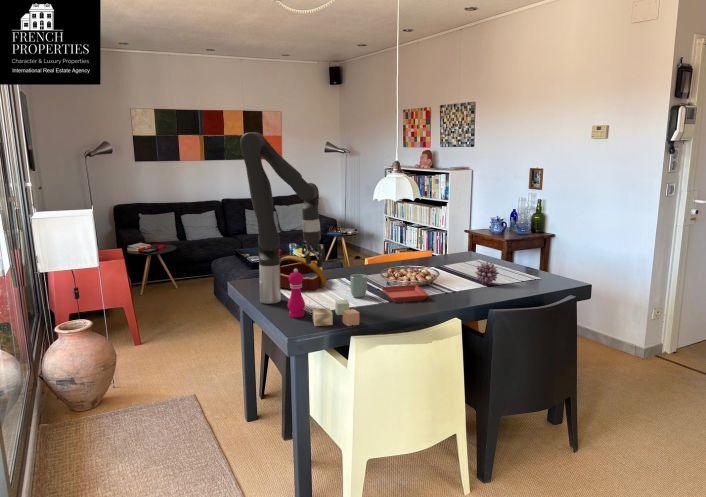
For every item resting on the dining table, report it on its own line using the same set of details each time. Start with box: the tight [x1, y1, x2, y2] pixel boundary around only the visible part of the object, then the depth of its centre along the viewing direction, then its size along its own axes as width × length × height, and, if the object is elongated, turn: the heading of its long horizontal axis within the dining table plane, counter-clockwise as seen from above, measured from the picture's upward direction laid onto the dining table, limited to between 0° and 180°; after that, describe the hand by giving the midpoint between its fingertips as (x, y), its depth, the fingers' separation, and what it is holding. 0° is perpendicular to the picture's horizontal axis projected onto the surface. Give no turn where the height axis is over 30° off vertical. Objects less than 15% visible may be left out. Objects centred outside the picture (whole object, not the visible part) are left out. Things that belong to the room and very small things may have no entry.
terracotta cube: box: [342, 308, 360, 327], centre depth 212 cm, size 5×5×5 cm
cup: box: [349, 273, 368, 299], centre depth 250 cm, size 8×8×10 cm
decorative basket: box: [280, 255, 327, 292], centre depth 273 cm, size 34×29×15 cm
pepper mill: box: [287, 269, 306, 319], centre depth 221 cm, size 7×7×20 cm
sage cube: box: [334, 299, 350, 316], centre depth 226 cm, size 5×5×5 cm
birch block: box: [312, 307, 334, 327], centre depth 213 cm, size 7×7×5 cm
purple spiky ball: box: [474, 261, 500, 285], centre depth 273 cm, size 12×12×12 cm
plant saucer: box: [380, 284, 430, 303], centre depth 251 cm, size 18×18×3 cm
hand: (314, 265), depth 236 cm, fingers open, 8 cm apart
